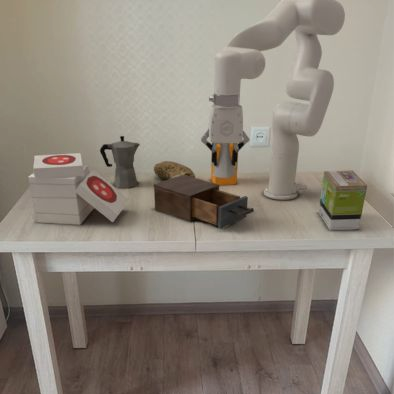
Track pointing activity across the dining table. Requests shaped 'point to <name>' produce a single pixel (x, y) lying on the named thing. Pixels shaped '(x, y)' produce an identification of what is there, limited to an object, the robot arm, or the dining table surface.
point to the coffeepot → (122, 162)
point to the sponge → (172, 170)
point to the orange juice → (224, 180)
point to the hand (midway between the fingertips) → (224, 164)
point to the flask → (224, 163)
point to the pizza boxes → (71, 190)
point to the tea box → (342, 200)
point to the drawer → (220, 208)
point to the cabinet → (180, 195)
